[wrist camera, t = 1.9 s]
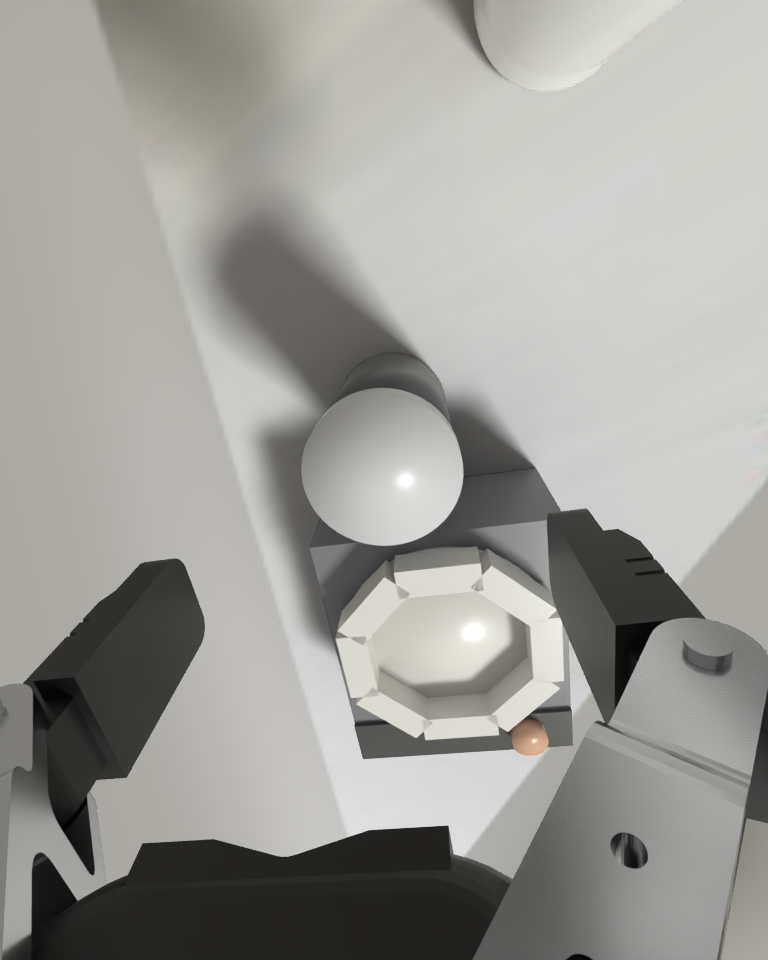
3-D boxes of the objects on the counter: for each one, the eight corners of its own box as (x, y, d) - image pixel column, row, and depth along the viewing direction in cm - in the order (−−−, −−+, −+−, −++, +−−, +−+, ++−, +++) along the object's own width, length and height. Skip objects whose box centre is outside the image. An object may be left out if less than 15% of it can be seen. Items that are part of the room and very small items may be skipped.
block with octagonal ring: (329, 494, 25) (301, 568, 19) (535, 468, 23) (576, 538, 18) (371, 678, 29) (360, 784, 23) (546, 663, 28) (581, 771, 22)
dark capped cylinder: (358, 333, 22) (329, 370, 14) (465, 375, 22) (491, 432, 15) (323, 435, 23) (282, 515, 16) (422, 472, 24) (425, 565, 17)
